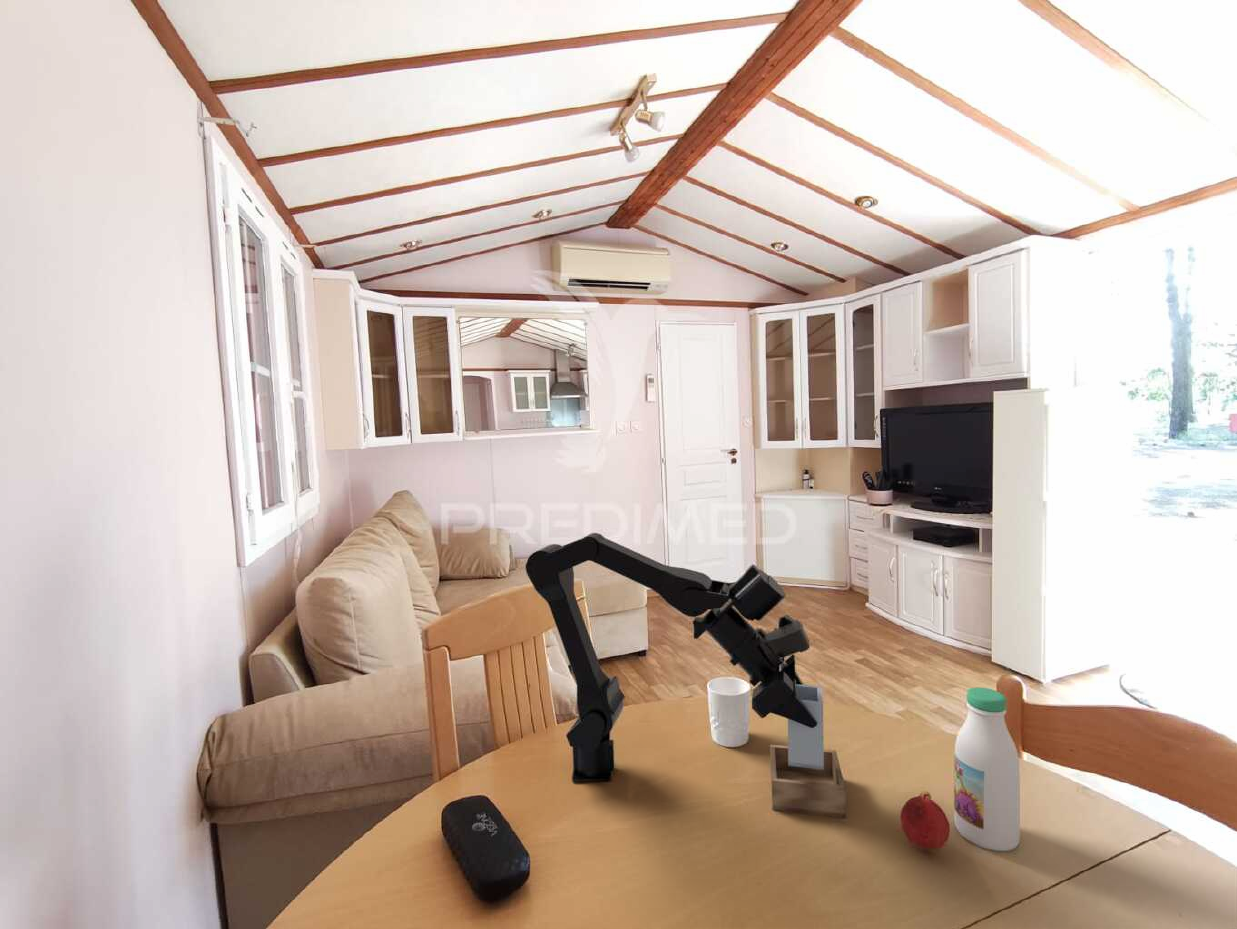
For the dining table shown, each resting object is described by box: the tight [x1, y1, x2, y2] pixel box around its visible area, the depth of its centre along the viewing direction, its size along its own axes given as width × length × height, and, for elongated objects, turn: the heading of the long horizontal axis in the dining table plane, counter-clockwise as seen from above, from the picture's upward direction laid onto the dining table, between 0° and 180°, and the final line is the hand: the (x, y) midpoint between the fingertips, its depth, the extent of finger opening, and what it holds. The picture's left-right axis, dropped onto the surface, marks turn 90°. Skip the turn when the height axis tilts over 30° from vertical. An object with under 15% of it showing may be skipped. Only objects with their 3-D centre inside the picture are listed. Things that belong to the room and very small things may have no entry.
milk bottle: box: [953, 687, 1021, 852], centre depth 81 cm, size 8×8×20 cm
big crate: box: [769, 744, 847, 819], centre depth 92 cm, size 10×10×4 cm
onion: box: [899, 791, 951, 852], centre depth 78 cm, size 6×6×8 cm
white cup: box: [706, 676, 751, 748], centre depth 109 cm, size 8×8×10 cm
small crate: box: [787, 684, 824, 770], centre depth 89 cm, size 5×6×10 cm
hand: (814, 715), depth 89 cm, fingers closed on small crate, 6 cm apart
